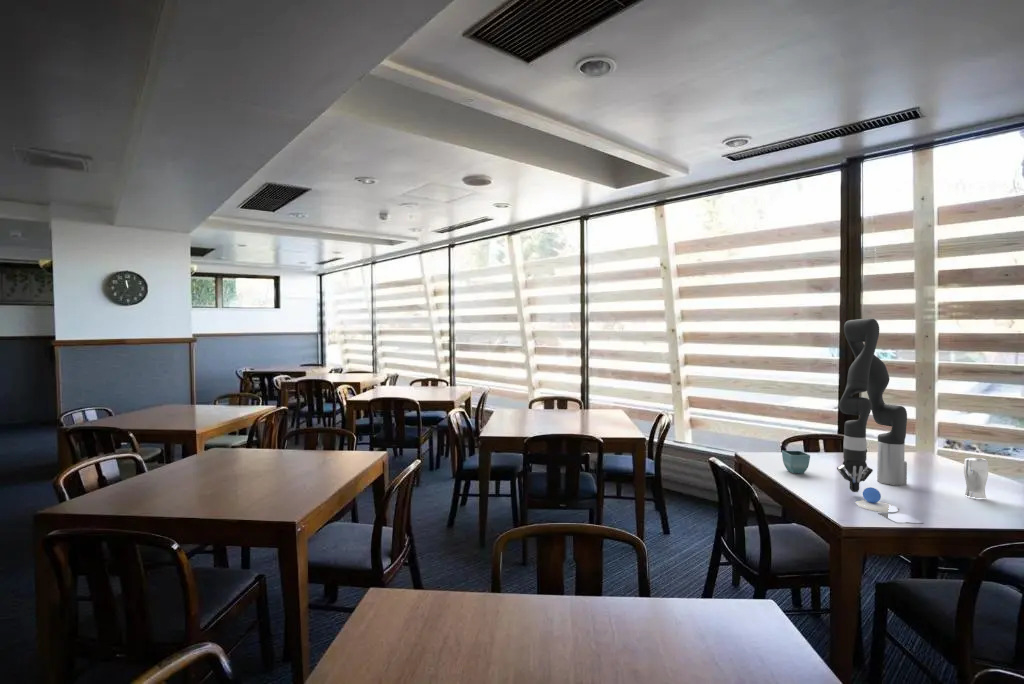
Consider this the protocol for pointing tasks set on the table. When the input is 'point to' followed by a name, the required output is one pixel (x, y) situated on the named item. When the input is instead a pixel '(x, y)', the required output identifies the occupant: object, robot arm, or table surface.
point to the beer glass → (975, 476)
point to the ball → (871, 495)
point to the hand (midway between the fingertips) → (854, 491)
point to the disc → (874, 506)
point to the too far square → (884, 514)
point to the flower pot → (796, 461)
